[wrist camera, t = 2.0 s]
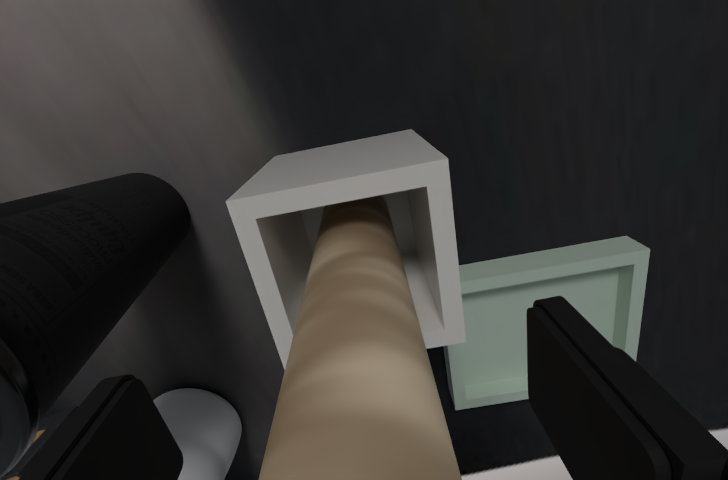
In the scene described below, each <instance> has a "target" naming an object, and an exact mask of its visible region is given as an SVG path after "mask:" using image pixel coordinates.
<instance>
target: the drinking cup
mask: <svg viewBox="0 0 728 480" xmlns="http://www.w3.org/2000/svg"><path fill="white" fill-rule="evenodd" d="M188 228H189V213H188V209H187V206H186V204H185V202H184V200H183V198H182V197H181V195H180V194H179V193H178V192H177V191H176V190H175V189H174V188H173V187H172V186H171V185H170V184H168V183H167V182H165V181H164V180H162V179H160V178H158V177H155V176H153V175H149V174H144V173H130V174H125V175H121V176H117V177H113V178H108V179H104V180H100V181H95V182H91V183H87V184H82V185H78V186H74V187H70V188H65V189H61V190H57V191H52V192H48V193H44V194H40V195H35V196H31V197H27V198H22V199H18V200H14V201H10V202H5V203H1V204H0V478H1V477H3V476H4V475H6V474H7V473H8V472H9V471H11V470H12V469H13V468H14V467H15V466H16V464H17V463H18V462H19V461H20V460H21V459H22V458H23V457H24V455H25V454H26V453H27V452H28V450H29V449H30V447H31V446H32V444H33V441H34V439H35V437H36V434H37V431H38V428H39V423H40V420H41V419H42V417H43V416H44V415H45V413H46V412H47V411H48V410H49V408H50V407H51V406H52V405H53V403H54V402H55V401H56V400H57V398H58V397H59V396H60V395H61V393H62V392H63V391H64V389H65V388H66V387H67V386H68V384H69V383H70V382H71V381H72V379H73V378H74V377H75V376H76V374H77V373H78V372H79V371H80V369H81V368H82V367H83V365H84V364H85V363H86V362H87V360H88V359H89V358H90V357H91V355H92V354H93V353H94V352H95V350H96V349H97V348H98V346H99V345H100V344H101V343H102V341H103V340H104V339H105V338H106V336H107V335H108V334H109V333H110V331H111V330H112V329H113V328H114V326H115V325H116V324H117V322H118V321H119V320H120V319H121V317H122V316H123V315H124V314H125V312H126V311H127V310H128V309H129V307H130V306H131V305H132V304H133V302H134V301H135V300H136V298H137V297H138V296H139V295H140V293H141V292H142V291H143V290H144V288H145V287H146V286H147V285H148V283H149V282H150V281H151V280H152V278H153V277H154V276H155V274H156V273H157V272H158V271H159V269H160V268H161V267H162V266H163V264H164V263H165V262H166V261H167V259H168V258H169V257H170V256H171V254H172V253H173V252H174V250H175V249H176V248H177V247H178V245H179V244H180V243H181V242H182V240H183V239H184V238H185V236H186V234H187V232H188Z"/></svg>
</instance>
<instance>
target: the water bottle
mask: <svg viewBox="0 0 728 480" xmlns="http://www.w3.org/2000/svg"><path fill="white" fill-rule="evenodd" d="M153 402H154V403H155V405H156V407H157V409H158V411H159V412H160V414H161V416H162V418H163V419H164V421H165V423H166V425H167V427H168V428H169V430H170V432H171V434H172V436H173V437H174V439H175V441H176V443H177V445H178V446H179V448H180V450H181V452H182V454H183V467H182V470H181V473H180V475H179V478H178V480H225V476H226V474H227V472H228V470H229V468H230V466H231V463H232V461H233V459H234V456H235V453H236V450H237V447H238V444H239V441H240V437H241V432H242V425H241V420H240V418H239V415H238V413H237V412H236V410H235V409H234V408H233V406H232V405H231V404H230V403H229V402H227V401H226V400H225V399H223V398H222V397H220V396H218V395H217V394H214V393H212V392H209V391H206V390H202V389H195V388H183V389H176V390H172V391H169V392H166V393H164V394H162V395H160V396H158V397H157V398H156V399H154V400H153Z"/></svg>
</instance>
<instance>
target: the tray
mask: <svg viewBox="0 0 728 480" xmlns="http://www.w3.org/2000/svg"><path fill="white" fill-rule="evenodd" d="M649 255H650V249H649V248H647V247H646V246H644V245H642V244H640V243H638V242H637V241H635V240H633V239H631V238H629V237H628V236H622V237H617V238H611V239H605V240H600V241H594V242H589V243H583V244H577V245H572V246H566V247H561V248H555V249H549V250H544V251H538V252H532V253H527V254H521V255H516V256H510V257H504V258H499V259H493V260H488V261H482V262H476V263H471V264H465V265H460V266H459V275H460V285H461V295H462V305H463V315H464V325H465V335H466V342H464V343H458V344H452V345H446V346H443V348H444V356H445V363H446V371H447V379H448V386H449V391H450V394H451V397H452V400H453V403H454V407H455V410H461V409H467V408H473V407H480V406H486V405H492V404H499V403H505V402H511V401H518V400H524V399H529V397H528V372H527V316H526V313H527V309H528V308H530V307H533V303H534V301H535V300H539V299H544V298H550V297H555V296H562V297H564V298H565V299H566V300H567V301H568V302H569V303H570V304H571V305H572V306H573V307H574V308H575V309H576V310H577V311H578V312H579V313H580V314H581V315H582V316H583V317H584V318H585V319H586V320H587V321H588V322H589V323H590V324H591V325H592V326H593V327H594V328H595V329H596V330H597V331H598V332H599V333H600V334H601V335H602V336H603V337H605V338H606V339H607V340H608V341H609V342H610V343H611V344H612V345H613V346H614V347H617V348H620V349H622V350H623V351H624V352H626V353H627V354H628V355H629V356H630V357H631V358H632V359H634V360H635V361H636V357H637V349H638V342H639V334H640V326H641V318H642V310H643V302H644V294H645V286H646V279H647V271H648V263H649Z"/></svg>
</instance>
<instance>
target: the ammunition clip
mask: <svg viewBox="0 0 728 480" xmlns="http://www.w3.org/2000/svg"><path fill="white" fill-rule="evenodd" d="M77 409H78V408H77V407H76V406H75V407H73V408H70V409H67V410H65V411H62V412H60V413H57V414H54V415H52V416H49V417H46V418H44V419H41V420H40V423H39V428H38V431H37V434H36V437H35V439H34V441H33V444H32V446H31V447H30V449H29V450H28V452H27V453H26V454H25V455H24V457H23V458H22V459H21V460H20V461H19V462H18V463H17V464H16V466H15V467H14V468H13V469H12V470H11V471H9V472H8V473H7V474H6V475H4V476H3V477H1V478H0V480H19V478H20V477H21V476H22V475H23V474H24V472H25V471H26V470H27V469H28V468H29V466H30V465H31V464H32V463H33V462H34V460H35V459H36V458H37V457H38V456H39V454H40V453H41V452H42V451H43V450H44V448H45V447H46V446H47V445H48V443H49V442H50V441H51V440H52V439H53V437H54V436H55V435H56V434H57V433H58V431H59V430H60V429H61V428H62V427H63V425H64V424H65V423H66V422H67V421H68V419H69V418H70V417H71V416H72V415H73V413H74V412H75V411H76V410H77Z"/></svg>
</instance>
